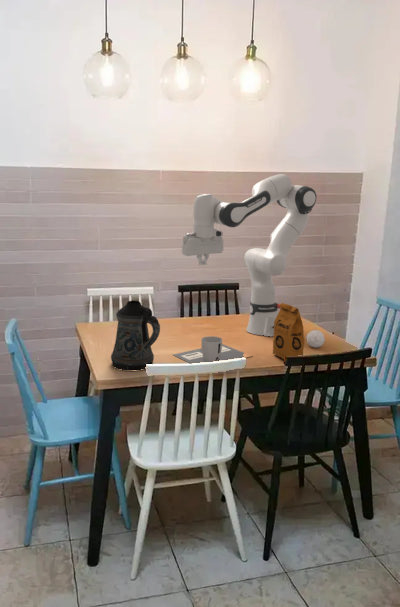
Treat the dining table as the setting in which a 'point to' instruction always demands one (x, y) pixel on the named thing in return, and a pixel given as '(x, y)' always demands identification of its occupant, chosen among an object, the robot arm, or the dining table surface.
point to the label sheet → (197, 355)
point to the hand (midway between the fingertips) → (202, 264)
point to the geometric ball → (315, 338)
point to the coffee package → (288, 332)
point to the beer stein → (134, 337)
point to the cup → (211, 348)
